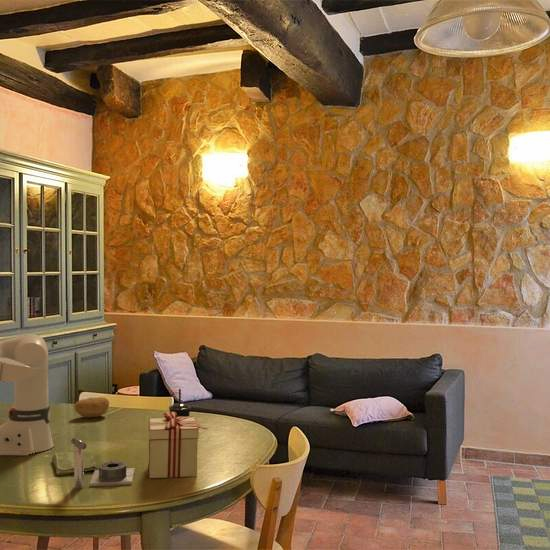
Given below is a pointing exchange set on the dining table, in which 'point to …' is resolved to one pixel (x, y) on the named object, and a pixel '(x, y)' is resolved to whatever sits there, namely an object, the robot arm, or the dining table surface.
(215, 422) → the dining table surface
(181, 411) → the drinking cup
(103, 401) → the potato
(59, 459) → the washcloth
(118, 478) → the chuck socket
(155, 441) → the gift box
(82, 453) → the chuck key
